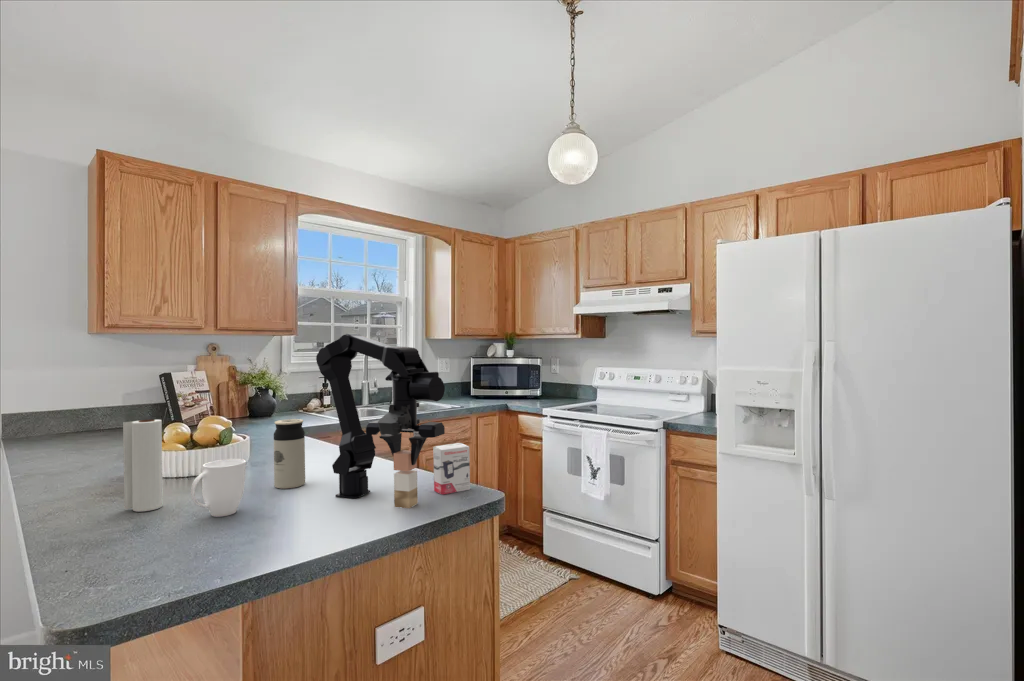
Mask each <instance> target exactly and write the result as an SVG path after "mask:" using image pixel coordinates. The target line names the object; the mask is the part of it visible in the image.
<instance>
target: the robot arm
mask: <svg viewBox="0 0 1024 681" xmlns="http://www.w3.org/2000/svg"><path fill="white" fill-rule="evenodd" d="M358 354H361V355H364V356H367V357H370V358H372V359H374V360H378V361H380V363H382V365H383V366H384V367H385V368H386V369H389V370H390V373H389V374H388V375H387V376H386V377H385V378H384V379H385V381H391V383H392V384H391V385H392V386H391V387H392V388H391V389H392V390H391V391H392V392H391V394H392V396H391V397H392V398H391V399H392V401H391V402H392V404H389V406H388V411H387V412H388V413H386V414H384V415H383V416H382V417H381V418H380V419H377V420H374V421H369V422H367V424H366V426H365V431H364V430H363V428H362V425H361V421H360V420H361V419H360V417H359V414H358V409H357V408H358V407H357V405H356V402H355V397H354V393H353V390H352V386H351V381H350V374H351V371H352V367H353V365H352V364H353V363H352V361H353V359H355V358H356V357H357V356H358ZM315 359H316V363H317V366H318V369H319V372H320V374H321V375H322V376H323V377H324V378H325V379H326V380H327V381H328V382H329V386H330V389H331V394H332V398H333V402H334V405H335V410H336V415H337V418H338V422H339V426H340V429H341V430H340V431H341V439H340V442H339V445H338V448H339V449H338V451H339V455H338V457H337V458H336V459H335V461H334V462H333V463H332V466H331V467H332V470H333V473H334V474H336V475H338V481H339V482H338V483H339V484H338V486H339V487H338V488H339V490H338V493H335V498H345V499H346V498H347V499H348V498H349V499H358V498H360V497H363V496H366V495H367V494H369V493H371V489H369V477H368V476H367V470H368V469H372V466H373V461H374V458H375V457H376V449H377V446H376V445H375V443H374V437H373V436H377V435H379V433H380V435H379V436H378V438H379V439H382V440H383V441H384V442H386V443H387V446H388V447H389V449H390V452H391V455H392V457H393V459H394V454H393V453H396V452H399V451H401V450H402V436H403V435H402V433H411V434H412V433H413V435H412V436H411V437H409V438H408V440H409V442H410V446H411V447H410V451H411V463H412V465H415V463H416V461H417V462H418V458H419V456H420V454H421V451H422V448H423V447H424V444H425V443H426V441H427V439H428V438H430V439H431V438H437V437H440V436H442V435H445V432H446V430H445V425H444V424H443V422H440V421H438V422H436V421H428V422H424V423H421V424H420V422H421V421H420V419H418V416H417V415H418V410H417V409H418V408H419V407H420V402H421V401H424V402H439V401H440V400H442V398H443V397H444V395H445V390H446V387H445V384H444V381H443V380H442V378H441V377H440V375H439V371H429V369H428V368H427V366H426V364H425V362H424V361H423V359H422V358H421V355H420V353H419V350H418V349H417V348H415V347H409V346H397V345H395V346H394V345H390V344H387V343H384V342H381V341H378V340H375V339H372V338H369V337H366V336H363V335H362V334H360V333H345V334H343V335H341V336H340V337H339V338H338V339H336V340H334V341H332V342H329V343H328V344H327V345H325V346H323V347H321V349H319V351H318V353H317V354H316V356H315ZM417 401H420V402H417Z"/></svg>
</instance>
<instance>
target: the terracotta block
mask: <svg viewBox="0 0 1024 681" xmlns="http://www.w3.org/2000/svg"><path fill="white" fill-rule="evenodd" d="M393 454H394V458H393V471H398V472H399V471H410V470H414V469H416V468H418V460H417V461H416V463H415V465H412V463H411V450H407V449H401V451H399V452H396V453H393Z"/></svg>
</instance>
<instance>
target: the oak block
mask: <svg viewBox="0 0 1024 681" xmlns="http://www.w3.org/2000/svg"><path fill="white" fill-rule="evenodd" d="M418 492H419V491H418V487H417V488H415V489H413V490H411V491H397V490H394V491H393V493H394V494H393V497H394V508H400V507H402V508H403V509H411V508H413V507H414V506H415V505H418V504H417V503H419V502H418V501H419V499H418V498H419V497H418ZM412 506H413V507H412Z"/></svg>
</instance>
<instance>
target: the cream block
mask: <svg viewBox="0 0 1024 681" xmlns="http://www.w3.org/2000/svg"><path fill="white" fill-rule="evenodd" d="M393 481H394V482H393V485H394V486H393V489H394V490H397V491H411V490H413V489H415V488H417V489H418V470H416V469H415V470H414V469H412V470H410V471H399V470H398V471H397V472H394V473H393Z"/></svg>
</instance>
